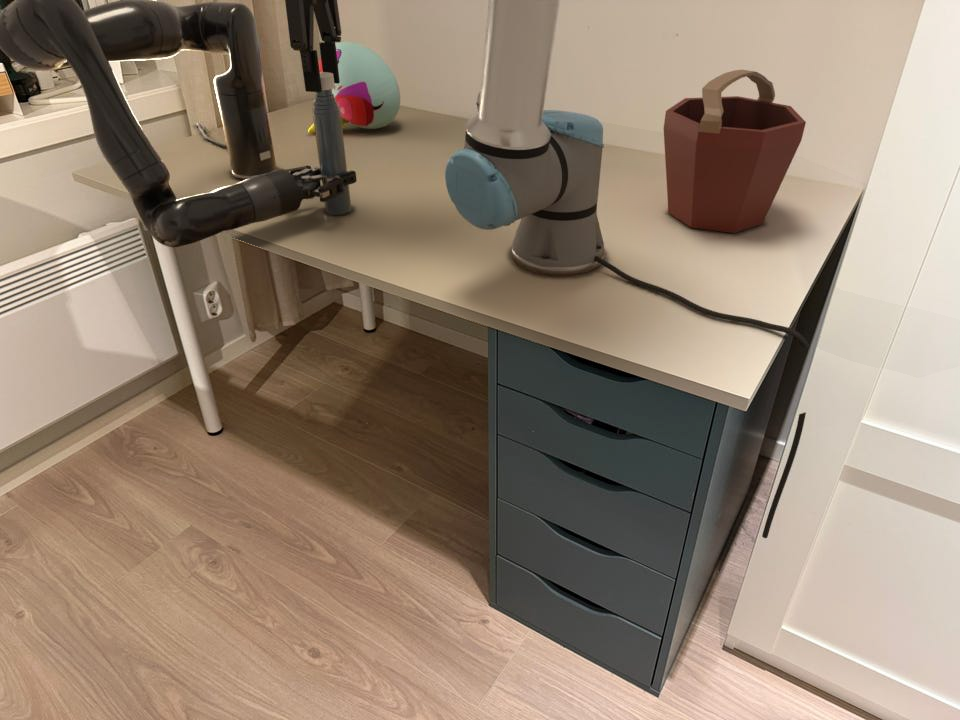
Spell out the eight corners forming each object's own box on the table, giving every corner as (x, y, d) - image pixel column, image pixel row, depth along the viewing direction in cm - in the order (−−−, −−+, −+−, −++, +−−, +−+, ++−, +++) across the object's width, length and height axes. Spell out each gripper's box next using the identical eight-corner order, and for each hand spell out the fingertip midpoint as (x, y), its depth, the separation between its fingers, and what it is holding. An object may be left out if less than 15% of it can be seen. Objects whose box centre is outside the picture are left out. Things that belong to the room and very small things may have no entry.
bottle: (324, 207, 136) (306, 76, 123) (349, 204, 138) (334, 74, 124) (327, 216, 132) (309, 82, 119) (353, 213, 134) (338, 80, 120)
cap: (339, 86, 123) (337, 73, 122) (326, 91, 120) (325, 78, 119) (319, 84, 125) (318, 71, 123) (307, 89, 122) (305, 76, 120)
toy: (277, 110, 181) (275, 51, 163) (352, 72, 191) (358, 13, 173) (336, 175, 178) (341, 122, 160) (410, 134, 188) (421, 79, 170)
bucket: (710, 250, 119) (740, 96, 105) (622, 208, 134) (638, 69, 120) (804, 218, 129) (843, 75, 115) (713, 183, 145) (736, 53, 131)
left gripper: (286, 185, 117) (367, 161, 127) (241, 166, 125) (321, 144, 135) (293, 228, 121) (371, 201, 131) (249, 206, 129) (326, 182, 139)
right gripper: (311, -73, 118) (329, 73, 131) (248, -66, 103) (275, 98, 116) (352, -72, 116) (366, 76, 129) (293, -65, 101) (316, 101, 114)
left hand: (345, 172), depth 133 cm, fingers closed on bottle, 5 cm apart
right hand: (323, 86), depth 122 cm, fingers open, 6 cm apart
